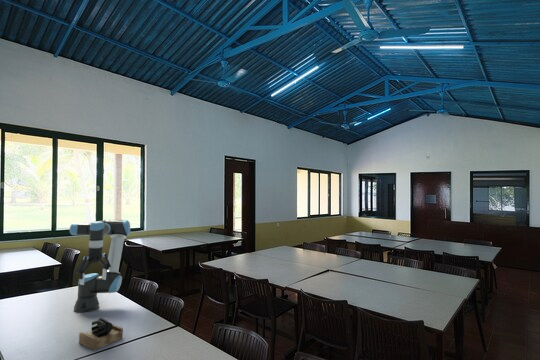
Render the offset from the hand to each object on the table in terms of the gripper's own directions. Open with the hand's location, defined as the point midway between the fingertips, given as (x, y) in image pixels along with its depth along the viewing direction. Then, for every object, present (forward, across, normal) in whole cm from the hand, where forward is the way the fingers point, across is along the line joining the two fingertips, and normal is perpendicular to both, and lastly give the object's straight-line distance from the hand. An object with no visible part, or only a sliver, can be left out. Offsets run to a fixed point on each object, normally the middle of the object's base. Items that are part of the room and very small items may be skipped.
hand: (93, 281), depth 184 cm
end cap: (+23, +7, +22) cm, 33 cm away
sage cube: (+27, +1, +10) cm, 29 cm away
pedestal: (+27, +7, +22) cm, 35 cm away
